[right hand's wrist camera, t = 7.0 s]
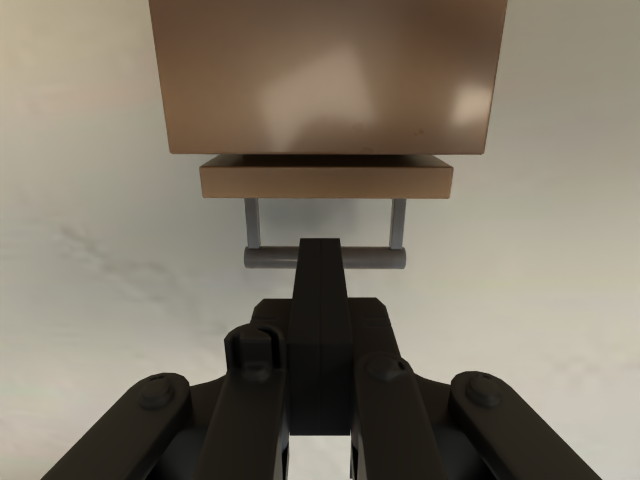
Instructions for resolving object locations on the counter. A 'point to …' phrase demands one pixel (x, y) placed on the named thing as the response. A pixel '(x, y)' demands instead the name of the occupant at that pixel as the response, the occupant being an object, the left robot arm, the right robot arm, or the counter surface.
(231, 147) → the cabinet
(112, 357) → the counter surface
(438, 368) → the counter surface
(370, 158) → the drawer
